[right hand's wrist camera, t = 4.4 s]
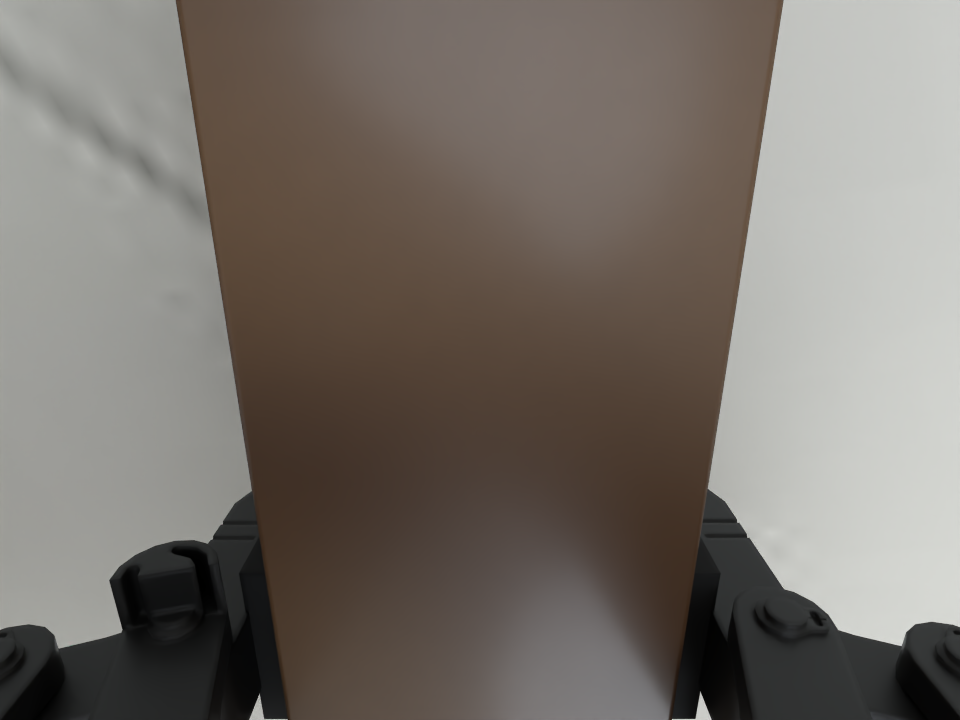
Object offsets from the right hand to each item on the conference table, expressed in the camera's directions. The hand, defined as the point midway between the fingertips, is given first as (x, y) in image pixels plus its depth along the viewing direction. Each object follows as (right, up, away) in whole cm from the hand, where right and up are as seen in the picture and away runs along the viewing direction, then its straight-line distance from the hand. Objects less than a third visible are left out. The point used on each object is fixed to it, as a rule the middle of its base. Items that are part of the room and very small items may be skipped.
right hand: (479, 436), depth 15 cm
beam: (0, +24, -8) cm, 25 cm away
